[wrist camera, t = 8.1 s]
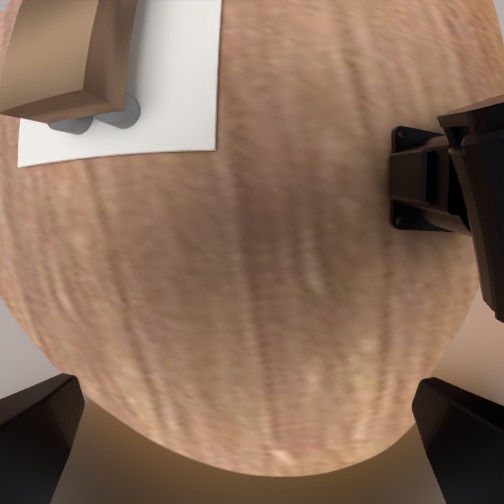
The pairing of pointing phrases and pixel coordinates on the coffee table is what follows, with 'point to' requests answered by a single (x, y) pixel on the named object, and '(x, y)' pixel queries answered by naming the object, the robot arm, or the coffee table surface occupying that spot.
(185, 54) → the peg stand
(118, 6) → the walnut board
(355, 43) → the coffee table surface
